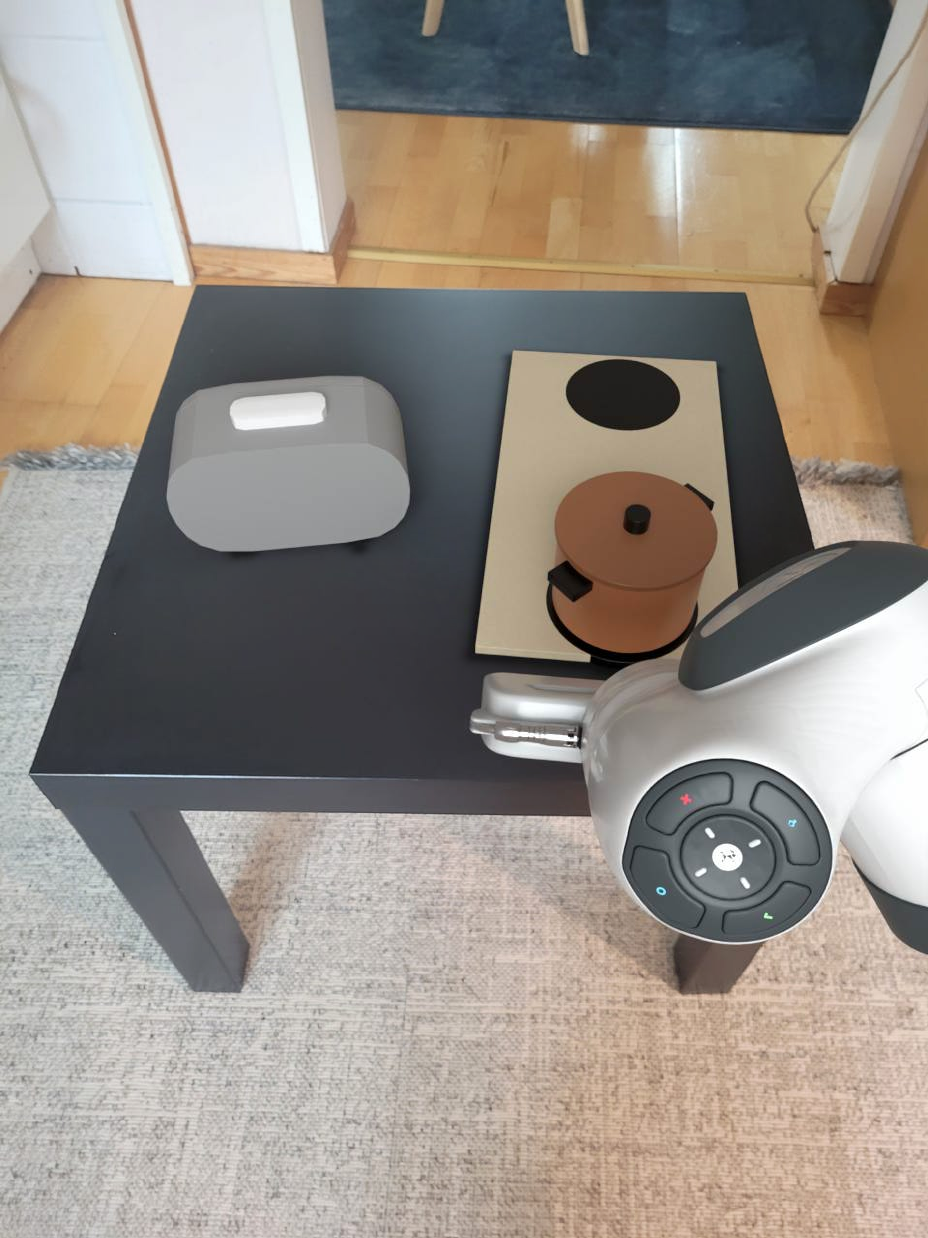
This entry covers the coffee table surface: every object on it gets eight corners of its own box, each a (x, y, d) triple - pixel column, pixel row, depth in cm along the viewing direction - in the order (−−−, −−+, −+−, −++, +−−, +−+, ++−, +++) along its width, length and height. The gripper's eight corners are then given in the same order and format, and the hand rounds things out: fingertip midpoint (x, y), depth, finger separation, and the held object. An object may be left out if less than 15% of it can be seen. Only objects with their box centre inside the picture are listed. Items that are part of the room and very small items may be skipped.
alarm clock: (405, 472, 92) (396, 356, 82) (414, 541, 86) (405, 427, 76) (194, 491, 91) (157, 376, 80) (188, 563, 85) (147, 449, 74)
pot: (633, 519, 86) (650, 429, 78) (739, 600, 80) (769, 512, 72) (504, 602, 80) (507, 513, 72) (607, 696, 74) (623, 612, 66)
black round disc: (693, 559, 84) (695, 551, 84) (700, 676, 76) (702, 669, 76) (549, 548, 85) (549, 541, 85) (540, 663, 77) (541, 656, 77)
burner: (677, 369, 102) (678, 361, 101) (681, 442, 94) (682, 434, 94) (566, 363, 103) (567, 355, 102) (562, 434, 95) (562, 426, 95)
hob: (714, 368, 102) (716, 361, 101) (743, 674, 76) (746, 667, 76) (512, 357, 104) (513, 349, 103) (475, 653, 78) (475, 646, 77)
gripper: (461, 789, 49) (478, 731, 63) (861, 825, 47) (790, 757, 61) (469, 670, 48) (485, 637, 62) (876, 703, 47) (800, 662, 61)
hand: (639, 697), depth 62 cm, fingers closed
